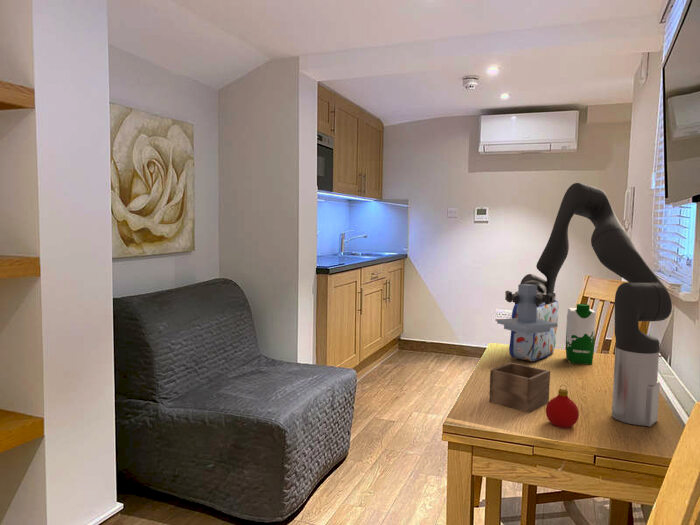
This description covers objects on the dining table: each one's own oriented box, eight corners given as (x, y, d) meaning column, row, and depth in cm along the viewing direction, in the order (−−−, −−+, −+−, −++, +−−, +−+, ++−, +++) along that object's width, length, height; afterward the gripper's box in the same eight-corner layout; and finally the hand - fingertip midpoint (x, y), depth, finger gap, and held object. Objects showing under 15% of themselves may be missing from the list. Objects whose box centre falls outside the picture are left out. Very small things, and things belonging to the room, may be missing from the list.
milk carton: (567, 363, 176) (570, 305, 175) (563, 357, 185) (565, 301, 184) (595, 365, 175) (598, 306, 173) (589, 358, 183) (592, 302, 182)
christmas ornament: (574, 422, 124) (576, 381, 123) (581, 434, 117) (583, 391, 116) (542, 420, 125) (544, 379, 124) (547, 431, 118) (549, 388, 118)
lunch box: (531, 346, 200) (533, 289, 198) (559, 351, 194) (562, 292, 192) (505, 361, 178) (507, 297, 177) (535, 366, 172) (538, 300, 170)
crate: (548, 404, 136) (550, 370, 135) (529, 415, 128) (530, 379, 127) (509, 394, 144) (510, 362, 143) (489, 404, 136) (490, 370, 135)
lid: (557, 332, 140) (558, 285, 139) (526, 335, 135) (527, 287, 134) (526, 325, 149) (527, 282, 149) (497, 328, 145) (497, 283, 144)
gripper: (507, 280, 157) (499, 285, 142) (558, 282, 151) (555, 288, 136) (506, 304, 158) (498, 312, 142) (557, 307, 152) (555, 316, 136)
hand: (526, 300), depth 139 cm, fingers closed on lid, 4 cm apart
